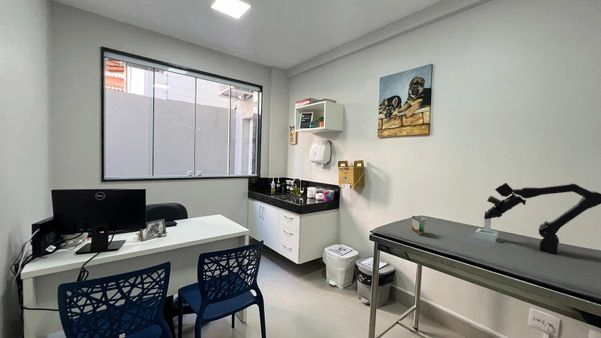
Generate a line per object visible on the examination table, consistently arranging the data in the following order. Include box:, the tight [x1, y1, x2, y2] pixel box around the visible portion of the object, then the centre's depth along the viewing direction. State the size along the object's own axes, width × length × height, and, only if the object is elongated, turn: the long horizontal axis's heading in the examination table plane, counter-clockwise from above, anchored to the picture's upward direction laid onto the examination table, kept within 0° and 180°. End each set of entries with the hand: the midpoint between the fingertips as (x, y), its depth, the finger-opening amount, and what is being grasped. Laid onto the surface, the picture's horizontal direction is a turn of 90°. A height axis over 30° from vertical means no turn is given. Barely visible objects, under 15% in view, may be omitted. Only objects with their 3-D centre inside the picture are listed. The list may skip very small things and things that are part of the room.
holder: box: [474, 228, 499, 242], centre depth 153 cm, size 10×10×4 cm
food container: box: [411, 215, 427, 236], centre depth 162 cm, size 12×6×10 cm, turn 179°
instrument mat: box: [457, 232, 506, 249], centre depth 151 cm, size 16×26×1 cm, turn 124°
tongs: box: [483, 208, 492, 230], centre depth 152 cm, size 3×4×12 cm
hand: (485, 217), depth 153 cm, fingers closed on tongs, 4 cm apart
